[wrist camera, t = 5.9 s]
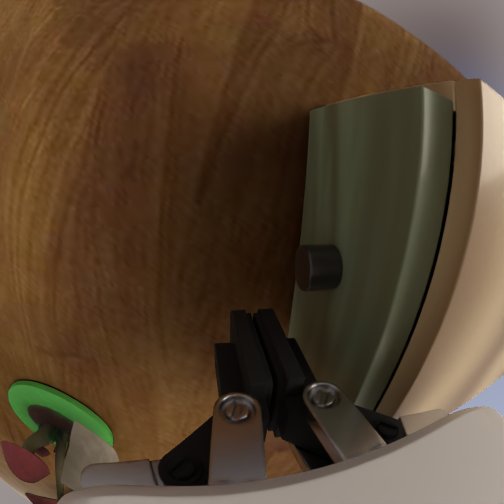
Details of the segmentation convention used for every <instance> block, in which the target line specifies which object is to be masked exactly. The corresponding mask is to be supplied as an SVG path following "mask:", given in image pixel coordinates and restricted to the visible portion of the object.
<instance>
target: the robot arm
mask: <svg viewBox="0 0 504 504" xmlns="http://www.w3.org/2000/svg"><path fill="white" fill-rule="evenodd" d="M214 349H215V368H216V378H217V386H218V393H219V398H218V400H217V401H216V402H215V405H214V409H213V416H212V417H211V418H210V419H208V420H207V421H206V422H205V423H204V424H203V425H201V426H200V427H199V428H198V429H197V430H196V431H194V432H193V433H192V434H191V435H190V436H188V437H187V438H186V439H185V440H184V441H182V442H181V443H180V444H179V445H177V446H176V447H175V448H174V449H172V450H171V451H170V452H169V453H167V454H166V455H165V456H164V457H163V458H162V459H160V460H153V461H150V460H149V459H143V460H135V461H125V462H112V463H95V464H90V465H88V466H87V467H85V468H84V469H83V471H82V472H81V479H80V480H81V487H82V489H78V490H75V491H72V492H70V493H68V494H65V495H64V496H63V497H62V498H61V499H60V500H59V501H58V503H57V504H504V417H503V416H502V415H501V414H500V413H498V412H497V411H496V410H494V409H492V408H490V407H474V408H467V409H464V410H460V411H457V412H455V413H452V414H450V415H449V413H448V412H446V411H445V410H442V409H434V410H430V411H425V412H421V413H416V414H411V415H405V416H400V417H399V418H398V419H395V418H393V417H390V416H387V415H384V414H381V413H378V412H375V411H372V410H369V409H366V408H363V407H360V406H357V405H354V404H353V402H352V401H351V400H350V399H349V397H348V396H347V395H346V394H345V393H344V391H343V390H342V389H341V388H340V387H339V386H338V385H336V384H334V383H331V382H328V381H317V380H316V378H315V376H314V374H313V372H312V370H311V369H310V367H309V365H308V363H307V361H306V359H305V357H304V355H303V353H302V351H301V349H300V347H299V345H298V343H297V341H296V339H295V338H286V336H285V334H284V331H283V329H282V327H281V325H280V323H279V321H278V319H277V316H276V314H275V312H274V310H273V309H272V308H269V309H259V310H258V313H254V314H253V319H252V316H251V313H246V311H245V310H232V311H231V325H230V343H215V344H214ZM267 429H268V431H273V432H274V436H275V437H281V438H282V439H283V440H285V441H287V442H288V444H289V447H290V449H291V451H292V453H293V455H294V456H295V458H296V460H297V462H298V463H299V465H300V467H301V469H302V470H303V472H302V473H297V474H293V475H288V476H283V477H277V478H272V479H267V474H266V462H265V449H264V442H265V438H266V433H267Z"/></svg>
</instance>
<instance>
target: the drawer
mask: <svg viewBox="0 0 504 504" xmlns="http://www.w3.org/2000/svg"><path fill="white" fill-rule="evenodd" d="M452 129H453V103H452V101H451V100H450V99H448V98H446V97H444V96H442V95H440V94H438V93H436V92H434V91H432V90H430V89H428V88H426V87H424V86H418V87H411V88H405V89H399V90H393V91H388V92H383V93H378V94H373V95H368V96H364V97H359V98H355V99H351V100H347V101H342V102H339V103H335V104H331V105H327V106H323V107H320V108H316V109H313V110H310V121H309V140H308V156H307V170H306V183H305V195H304V207H303V217H302V228H301V237H300V246H299V247H298V249H297V251H296V255H295V262H294V271H295V278H296V281H295V289H294V297H293V304H292V311H291V318H290V325H289V332H288V338H295V339H296V341H297V343H298V345H299V347H300V349H301V351H302V353H303V355H304V357H305V359H306V361H307V363H308V365H309V367H310V369H311V370H312V372H313V374H314V376H315V378H316V380H317V381H328V382H331V383H334V384H336V385H338V386H339V387H340V388H341V389H342V390H343V391H344V393H345V394H346V395H347V396H348V397H349V399H350V400H351V401H352V402H353V404H354V405H357V406H360V407H363V408H366V409H369V410H372V411H373V410H374V408H375V406H376V404H377V402H378V401H379V399H380V397H381V395H382V393H383V391H384V393H386V391H387V389H388V387H389V385H390V383H391V381H392V379H393V377H394V375H395V373H396V371H397V369H398V367H399V365H400V362H401V360H402V358H403V356H404V354H405V351H406V349H407V347H408V344H409V342H410V340H411V337H412V335H413V332H414V330H415V327H416V324H417V322H418V319H419V316H420V314H421V311H422V308H423V305H424V302H425V299H426V296H427V293H428V290H429V287H430V283H431V280H432V277H433V273H434V270H435V266H436V262H437V259H438V255H439V251H440V246H441V242H442V238H443V233H444V228H445V223H446V218H447V213H448V207H449V200H450V194H451V186H452V178H453V169H454V158H455V142H456V141H455V140H452Z"/></svg>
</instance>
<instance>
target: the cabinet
mask: <svg viewBox="0 0 504 504" xmlns="http://www.w3.org/2000/svg"><path fill="white" fill-rule="evenodd" d="M418 86H424V87H426V88H428V89H430V90H432V91H434V92H436V93H438V94H440V95H442V96H444V97H446V98H448V99H450V100H451V101H452V103H453V129H452V140H455V141H456V142H455V158H454V169H453V178H452V186H451V194H450V200H449V207H448V213H447V218H446V223H445V228H444V233H443V238H442V242H441V246H440V251H439V255H438V259H437V262H436V266H435V270H434V273H433V277H432V280H431V283H430V287H429V290H428V293H427V296H426V299H425V302H424V305H423V308H422V311H421V314H420V316H419V319H418V322H417V324H416V327H415V330H414V332H413V335H412V337H411V340H410V342H409V344H408V347H407V349H406V351H405V354H404V356H403V358H402V360H401V362H400V365H399V367H398V369H397V371H396V373H395V375H394V377H393V379H392V381H391V383H390V385H389V387H388V389H387V391H386V393H384V391H383V393H382V395H381V397H380V399H379V401H378V402H377V404H376V406H375V408H374V410H373V411H375V412H378V413H381V414H384V415H387V416H390V417H393V418H395V419H398V418H399V417H400V416H405V415H411V414H416V413H421V412H425V411H430V410H434V409H442V410H445V411H446V412H448V413H450V412H452V411H454V410H455V409H457V408H458V407H460V406H462V405H463V404H465V403H466V402H467V401H469V400H470V399H472V398H473V397H475V396H476V395H477V394H479V393H480V392H482V391H483V390H484V389H486V388H487V387H488V386H490V385H491V384H492V383H494V382H495V381H496V380H497V379H499V378H500V377H501V376H502V375H503V374H504V98H503V97H502V96H501V95H499V94H498V93H497V92H496V91H494V90H493V89H492V88H491V87H490V86H489V85H488V84H486V83H485V82H484V81H482V80H481V79H464V80H456V81H446V82H437V83H429V84H422V85H415V86H409V87H403V88H397V89H392V90H386V91H381V92H377V93H372V94H367V95H363V96H359V97H364V96H368V95H373V94H378V93H383V92H388V91H393V90H399V89H405V88H411V87H418ZM359 97H354V98H350V99H346V100H342V101H347V100H351V99H355V98H359ZM342 101H339V102H342ZM339 102H334V103H330V104H326V106H327V105H331V104H335V103H339Z"/></svg>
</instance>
